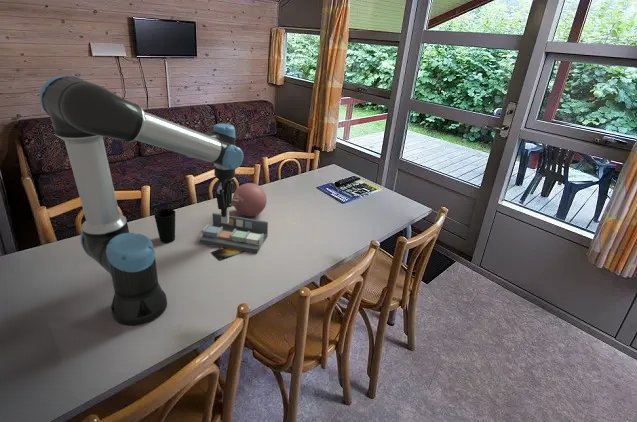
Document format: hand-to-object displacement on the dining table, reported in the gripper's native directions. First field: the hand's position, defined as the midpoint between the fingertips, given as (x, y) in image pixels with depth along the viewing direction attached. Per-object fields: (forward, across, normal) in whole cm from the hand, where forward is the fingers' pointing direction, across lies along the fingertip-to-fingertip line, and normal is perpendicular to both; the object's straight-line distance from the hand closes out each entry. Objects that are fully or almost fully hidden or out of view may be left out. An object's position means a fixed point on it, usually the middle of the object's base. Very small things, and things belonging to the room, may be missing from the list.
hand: (225, 222), depth 145 cm
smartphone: (+9, -6, -5) cm, 12 cm away
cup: (+9, -6, +22) cm, 24 cm away
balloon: (+8, +24, 0) cm, 25 cm away
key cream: (+6, +1, -12) cm, 13 cm away
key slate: (+7, +1, +6) cm, 9 cm away
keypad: (+9, +2, -3) cm, 9 cm away
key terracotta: (+8, +1, 0) cm, 8 cm away
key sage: (+6, +1, -6) cm, 9 cm away
